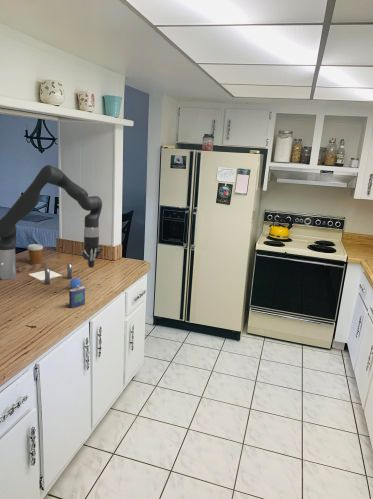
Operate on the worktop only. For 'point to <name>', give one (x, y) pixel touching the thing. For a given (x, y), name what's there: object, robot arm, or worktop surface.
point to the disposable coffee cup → (35, 253)
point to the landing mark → (42, 275)
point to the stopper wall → (32, 267)
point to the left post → (47, 276)
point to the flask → (76, 297)
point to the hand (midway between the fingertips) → (91, 267)
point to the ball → (75, 283)
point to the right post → (69, 271)
